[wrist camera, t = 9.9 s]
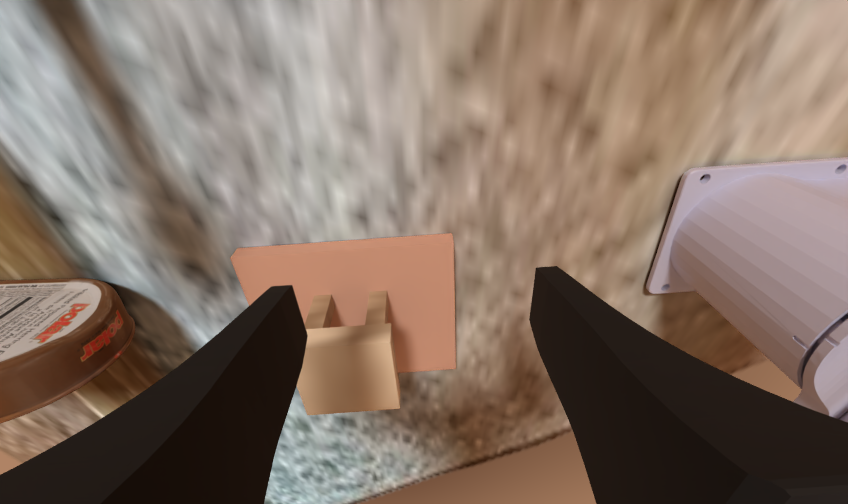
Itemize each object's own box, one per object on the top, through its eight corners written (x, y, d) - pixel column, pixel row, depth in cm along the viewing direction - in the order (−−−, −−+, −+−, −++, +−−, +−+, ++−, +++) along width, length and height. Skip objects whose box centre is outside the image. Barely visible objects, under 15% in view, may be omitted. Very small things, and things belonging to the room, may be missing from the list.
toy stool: (393, 284, 21) (390, 342, 17) (400, 346, 24) (399, 408, 20) (305, 290, 21) (283, 349, 17) (323, 352, 24) (307, 415, 20)
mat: (451, 233, 21) (453, 242, 20) (454, 357, 26) (455, 368, 25) (237, 248, 21) (230, 257, 20) (283, 369, 26) (279, 381, 25)
